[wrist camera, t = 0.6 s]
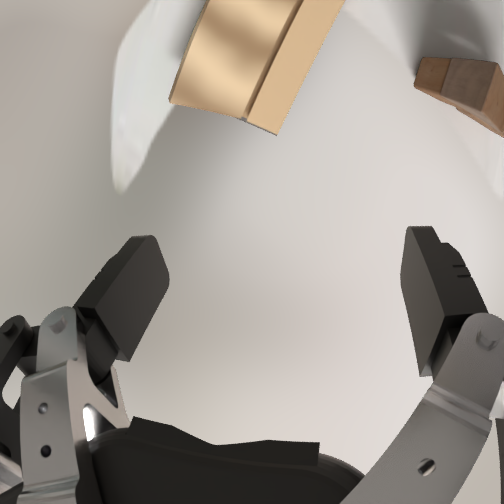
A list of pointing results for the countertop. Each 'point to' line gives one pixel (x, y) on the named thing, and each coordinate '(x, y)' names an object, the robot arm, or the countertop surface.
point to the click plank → (228, 54)
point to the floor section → (290, 62)
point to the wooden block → (466, 88)
